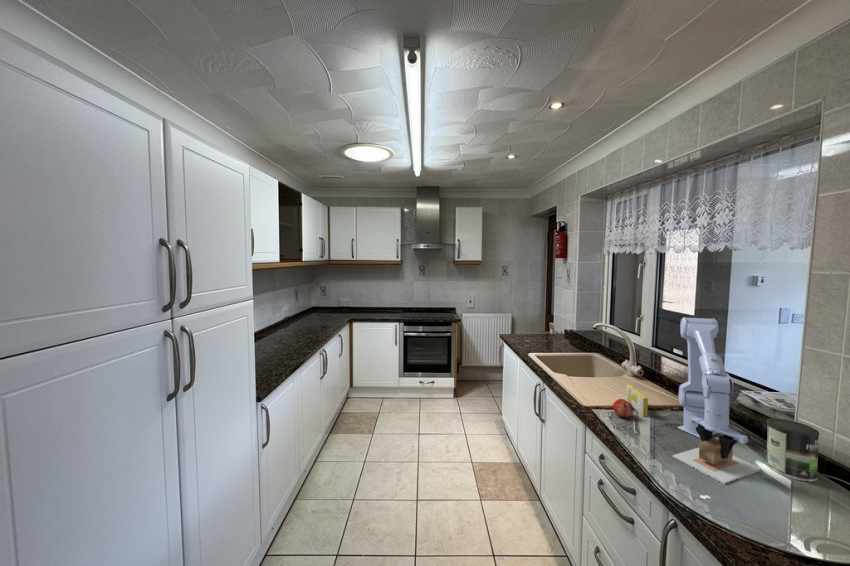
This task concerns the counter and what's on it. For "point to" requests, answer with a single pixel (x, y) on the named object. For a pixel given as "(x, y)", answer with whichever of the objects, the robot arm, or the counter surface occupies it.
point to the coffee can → (792, 449)
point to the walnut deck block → (712, 451)
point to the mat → (718, 466)
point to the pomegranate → (623, 408)
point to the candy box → (637, 400)
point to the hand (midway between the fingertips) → (715, 453)
